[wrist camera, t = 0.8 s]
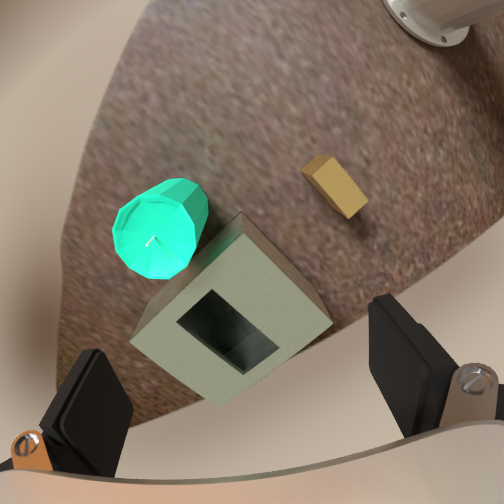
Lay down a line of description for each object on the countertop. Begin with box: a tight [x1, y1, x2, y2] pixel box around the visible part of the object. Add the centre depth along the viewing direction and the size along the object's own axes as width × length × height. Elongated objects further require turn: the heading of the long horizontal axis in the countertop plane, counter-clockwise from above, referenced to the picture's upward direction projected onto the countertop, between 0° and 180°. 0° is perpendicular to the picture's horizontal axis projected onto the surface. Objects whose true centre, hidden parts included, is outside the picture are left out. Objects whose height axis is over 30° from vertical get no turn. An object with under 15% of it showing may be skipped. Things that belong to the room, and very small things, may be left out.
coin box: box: [130, 211, 333, 407], centre depth 30 cm, size 14×11×8 cm
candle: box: [112, 178, 209, 279], centre depth 25 cm, size 6×6×12 cm
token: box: [300, 155, 368, 219], centre depth 28 cm, size 2×5×5 cm, turn 43°
